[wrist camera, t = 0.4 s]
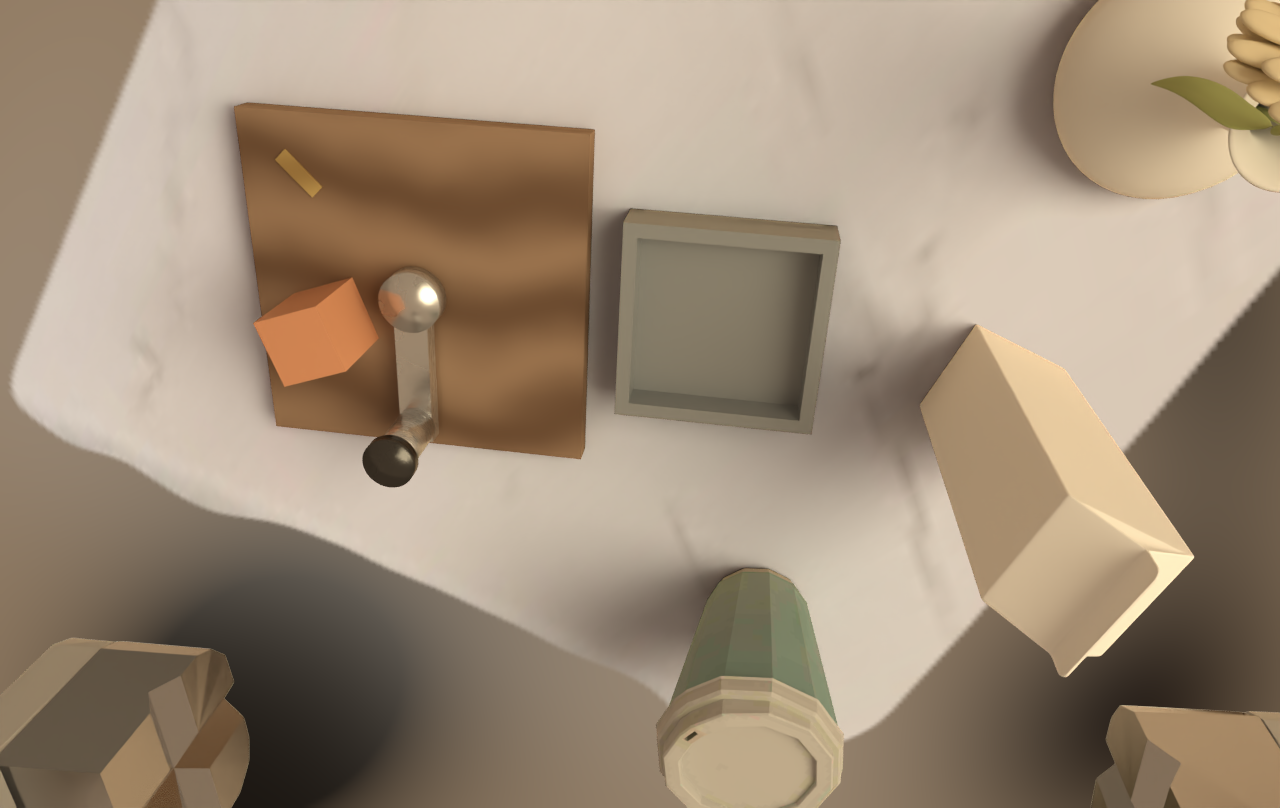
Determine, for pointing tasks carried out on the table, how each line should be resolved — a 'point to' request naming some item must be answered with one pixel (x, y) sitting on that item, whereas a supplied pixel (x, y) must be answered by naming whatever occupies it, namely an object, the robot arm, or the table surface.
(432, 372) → the crank
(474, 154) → the plate
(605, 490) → the table surface
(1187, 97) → the flower in vase
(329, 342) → the orange block
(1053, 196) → the table surface
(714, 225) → the tray
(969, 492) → the milk
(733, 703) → the disposable coffee cup
